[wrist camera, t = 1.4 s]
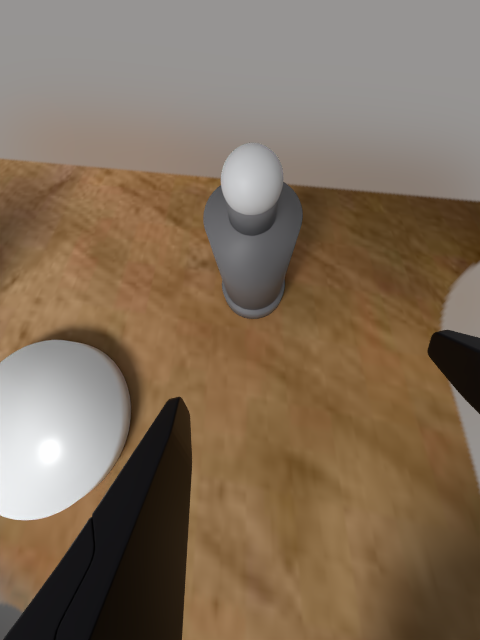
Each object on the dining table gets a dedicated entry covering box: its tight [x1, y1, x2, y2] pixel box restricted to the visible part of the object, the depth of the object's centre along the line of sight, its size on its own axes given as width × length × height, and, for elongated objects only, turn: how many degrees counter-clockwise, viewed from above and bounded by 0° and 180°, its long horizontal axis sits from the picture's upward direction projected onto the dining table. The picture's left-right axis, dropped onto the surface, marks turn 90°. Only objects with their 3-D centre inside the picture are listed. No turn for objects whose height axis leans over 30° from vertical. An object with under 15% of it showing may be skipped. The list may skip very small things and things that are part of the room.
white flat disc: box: [0, 340, 131, 520], centre depth 20 cm, size 14×14×2 cm
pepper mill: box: [204, 143, 303, 319], centre depth 15 cm, size 6×6×14 cm
